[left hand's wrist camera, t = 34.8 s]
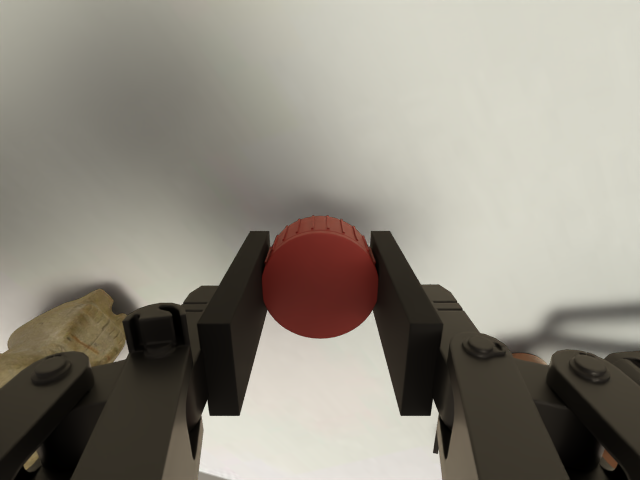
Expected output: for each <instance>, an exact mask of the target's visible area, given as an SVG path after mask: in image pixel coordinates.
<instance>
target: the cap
mask: <svg viewBox="0 0 640 480" xmlns="http://www.w3.org/2000/svg"><path fill="white" fill-rule="evenodd" d="M264 264H266V265H265V267H264V270H263V274H262V289H263V301H264V303H265V306H266V308H267V310H268V311H269V313H270V314H271V316H272V317H273V318H274V319H275V320H276V321H277V322H278V323H279V324H280V325H281V326H283V327H284V328H285V329H287V330H289V331H291V332H293V333H295V334H298V335H301V336H304V337H309V338H319V339H321V338H331V337H336V336H340V335H343V334H345V333H348V332H349V331H351V330H353V329H355V328H356V327H358V326H359V325H360V324H361V323H362V322H364V321H365V320H366V318H367V317H368V316H369V315H370V313H371V312H372V310H373V308H374V306H375V304H376V302H377V293H378V273H377V270H376V267H375V264H376V261H375V259H374V256H373V253H372V251H371V248H370V247H368V245H367V243H366V240H365V237H364V235H363V236H362V235H361V234H360V233H359V232H358V231H357V230H356V229H355V226H351V225H350V224H348V223H346V222H344V221H343V219H340V220H339V219H336V218H333V217H329V216H328V215H327V216H314V215H312V217H307V218H304V219H301V220H300V219H298V221H296V222H294V223H292V224H291V225H289V226H288V225H287V226H286V228H285V229H284V230H283V231H282V232H281V233H280V234H279V235H277V236H276V238H275V241H274V243H273V245H272V247H271V246H270V249H269V251H268V254H267V257H266V260H265V262H264Z"/></svg>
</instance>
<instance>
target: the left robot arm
mask: <svg viewBox="0 0 640 480" xmlns="http://www.w3.org/2000/svg"><path fill="white" fill-rule="evenodd" d="M370 248H371V251H372V253H373V256H374V259H375V261H376V264H375V267H376V270H377V273H378V293H377V302H376V304H375V306H374V308H373V313H374V316H375V320H376V324H377V328H378V331H379V335H380V339H381V343H382V347H383V350H384V354H385V358H386V362H387V366H388V369H389V373H390V377H391V381H392V385H393V388H394V392H395V396H396V400H397V404H398V407H399V411H400V415H401V416H431V409H432V402H433V399H434V402H435V404H436V407H437V410H438V412H439V416H438V423H437V430H436V436H435V443H434V450H433V453H436V454H438V450H439V454H440V463H441V471H442V480H640V386H639V385H638V384H637V383H636V382H634V381H633V380H632V379H631V378H630V377H628V376H627V375H626V374H625V373H623V372H622V371H621V370H620V369H619V368H617V367H616V366H614V365H613V364H611V363H610V362H608V361H606V360H604V359H602V358H600V357H598V356H596V355H594V354H591V353H588V352H587V353H586V352H584V351H578V350H567V349H566V350H561V351H557V352H556V353H554V354H553V355H552V358H551V361H550V365H545V364H540V363H535V362H530V361H525V360H521V359H517V358H513V356H512V354H511V352H510V350H509V349H508V348H507V347H506V345H505V344H503V343H502V342H500V341H499V340H497V339H496V338H493V337H491V336H489V335H486V334H482V333H480V332H479V331H478V330H477V328H476V327H475V325H474V324H473V323H472V321H471V320H470V318H469V317H468V316H467V314H466V313H465V312H464V311H463V310H462V307H461V306H460V305H459V303H457V300H456V299H455V298H454V296H453V295H452V293H451V292H449V291H448V290H446V289H445V288H443V287H442V286H440V285H421V284H420V282H419V281H418V279H417V277H416V276H415V274H414V272H413V270H412V269H411V267H410V265H409V263H408V262H407V260H406V258H405V256H404V255H403V253H402V251H401V250H400V248H399V246H398V244H397V243H396V241H395V239H394V237H393V236H392V234H391V232H390V231H371V242H370ZM269 249H270V238H269V231H250V233H249V234H248V236H247V238H246V240H245V241H244V243H243V245H242V246H241V248H240V250H239V252H238V253H237V255H236V257H235V259H234V260H233V262H232V264H231V266H230V267H229V269H228V271H227V272H226V274H225V276H224V278H223V279H222V281H221V283H220V285H219V286H200V287H199V288H197V289H196V290H194V291H193V292H191V293H190V294H189V295H188V297H187V298H186V299H185V301H184V302H183V304H182V305H178V304H174V303H157V304H152V305H148V306H145V307H142V308H139V309H137V310H135V311H134V312H132V313H130V314H129V315H127V316H126V318H125V319H124V320H123V321H122V323H123V328H124V332H125V336H126V341H127V345H128V350H129V354H128V356H127V358H126V359H125V360H122V361H118V362H113V363H108V364H103V365H98V366H93V367H91V364H90V360H89V357H88V356H87V355H86V354H84V353H83V352H77V351H69V352H60V353H55V354H52V355H49V356H46V357H44V358H42V359H40V360H38V361H36V362H34V363H32V364H31V365H29V366H28V367H26V368H25V369H23V370H22V371H21V372H19V373H18V374H17V375H16V376H15V377H13V378H12V379H11V380H10V381H9V382H8V383H6V384H5V385H4V386H3V387H2V388H0V480H198V472H199V464H200V455H201V447H202V438H203V423H202V416H201V415H202V412H203V409H204V407H205V404H206V402H207V400H208V407H209V414H210V416H240V412H241V408H242V404H243V401H244V397H245V393H246V389H247V385H248V382H249V378H250V374H251V370H252V366H253V363H254V359H255V355H256V351H257V347H258V344H259V340H260V336H261V332H262V329H263V325H264V321H265V317H266V313H267V308H266V306H265V303H264V301H263V289H262V274H263V270H264V267H265V265H266V264H264V262H265V260H266V257H267V254H268V251H269ZM604 450H606V451H607V452H608V453H609V454H610V455H611V456H612V457H613V459H614V460H615V461H616V462H617V463H618V464H617V466H616V468H615V469H614V468H613V467H612V466H611V465H610V464H609V463H608V462H607V461H606V460H605V459H604V458H603V456H602V455H603V452H604ZM35 451H37V454H38V457H39V458H38V459H37V460H36V461H35V462H34V464H33V465H31V466H30V467H29V468H28V469H27V470H26V469H25V468H24V466H23V465H24V464H25V463H26V462H27V460H28V459H29V458H30V457H31V456H32V455H33V454H34V452H35Z"/></svg>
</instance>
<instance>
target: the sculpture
mask: <svg viewBox="0 0 640 480" xmlns="http://www.w3.org/2000/svg"><path fill="white" fill-rule="evenodd" d="M113 302H114V301H113V299H112V298H111V297H110V296H109V295H108V294H107V293H106V292H105V291H104V290H102V289H97V290H95V291H92V292H90V293H89V294H88V295H86V296H84V297H82V298H80V299H77V300H74V301H70V302H66V303H64V304H62V305H60V306H57V307H55V308H53V309H51V310H49V311H47V312H45V313H43V314H41V315H40V316H38V317H36V318H34V319H33V320H31V321H29V322H27V323H26V324H24V325H22V326H21V327H19V328H18V329H17V330H15V331H14V332H13V333H12V335H11V336H10V338H9V340H8V349H9V350H7V351H6V352H4V353H3V354H0V388H2V387H3V386H4V385H5V384H6V383H8V382H9V381H10V380H11V379H12V378H13V377H15V376H16V375H17V374H18V373H19V372H21V371H22V370H23V369H25V368H26V367H28V366H29V365H31V364H32V363H34V362H36V361H38V360H40V359H42V358H44V357H46V356H49V355H52V354H55V353H60V352H69V351H77V352H83V353H84V354H86V355H87V356H88V357H89V360H90V364H91V367H93V366H98V365H103V364H108V363H113V362H114V360H115V359H116V358H117V356H118V355H119V353H120V352H121V350H122V349H123V347H124V345H125V340H126V336H125V332H124V328H123V323H122V321H123V320H124V319H125V318H126V316H127V315H126V314H124V313H120V314H118V315H115V314H114V313H113V312H112V304H113ZM38 458H39V457H38V454H37V451H35V452H34V454H33V455H32V456H31V457H30V458H29V459H28V460H27V462H26V463H25V464H24V465H23V466H24V468H25V469H26V470H27V469H28V468H29V467H30V466H31V465H33V464H34V462H35V461H36V460H37V459H38Z"/></svg>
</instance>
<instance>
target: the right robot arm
mask: <svg viewBox="0 0 640 480" xmlns="http://www.w3.org/2000/svg"><path fill="white" fill-rule="evenodd" d="M604 360H606V361H608V362H610V363H611V364H613V365H614V366H616V367H617V368H619V369H620V370H621V371H622V372H623V373H625V374H626V375H627V376H628V377H630V378H631V379H632V380H633V381H634V382H636V383H637V384H638V385H639V386H640V351H632V352H618V353H612V354H610V355H608V356H607V357H606V358H605V359H604Z"/></svg>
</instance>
